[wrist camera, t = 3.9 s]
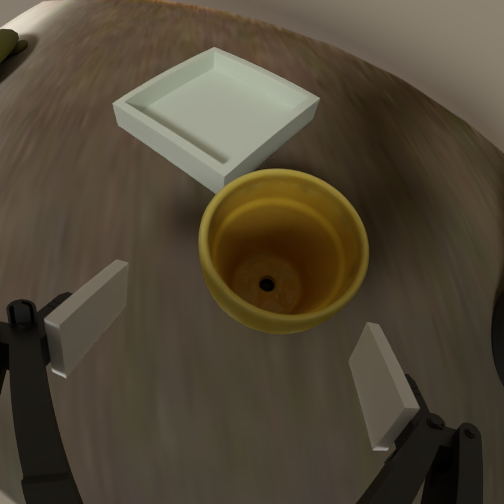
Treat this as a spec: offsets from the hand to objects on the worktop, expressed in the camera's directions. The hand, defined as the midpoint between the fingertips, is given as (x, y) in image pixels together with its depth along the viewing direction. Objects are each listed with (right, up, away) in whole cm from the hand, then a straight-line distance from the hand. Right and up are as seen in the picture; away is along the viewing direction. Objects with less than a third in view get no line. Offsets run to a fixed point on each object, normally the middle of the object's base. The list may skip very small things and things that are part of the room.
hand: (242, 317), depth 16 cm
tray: (-4, +19, +19) cm, 27 cm away
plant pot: (+2, 0, +11) cm, 11 cm away
